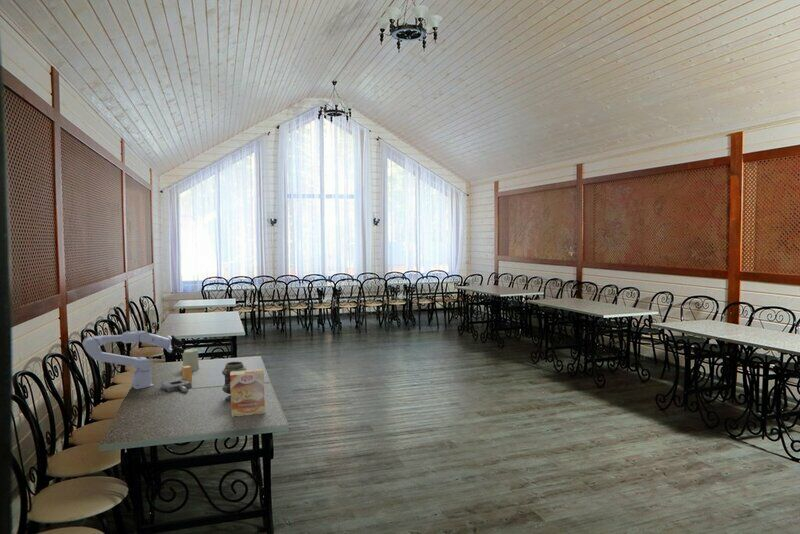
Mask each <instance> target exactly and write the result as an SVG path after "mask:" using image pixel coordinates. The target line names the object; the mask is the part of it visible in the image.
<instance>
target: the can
mask: <svg viewBox="0 0 800 534" xmlns="http://www.w3.org/2000/svg"><path fill="white" fill-rule="evenodd" d="M184 350H185V351H184V353H181V355H182V367H183V366H191V370H192V372H193V371H197V370H199V369H200V366H199V349H197V348H189V349H184Z"/></svg>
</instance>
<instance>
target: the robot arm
mask: <svg viewBox="0 0 800 534" xmlns="http://www.w3.org/2000/svg"><path fill="white" fill-rule="evenodd" d="M114 342H116V343H117V342H122V343H123V344H130V343H133V344H134V343H138V342H140V343H142V344H145V343H146V344H149V345H152V346H156V347H159V348H161V349H162V348H163V349H165V350H166V351H167V353H168V354H170V355H173V354H182V353H184V351H185V350H186V349H184V348H182V347H183V345H184V342H183V341H182V340H180V339H178V338H177V337H176V336H174V335H166V337H165V336H162V335H158V334H155V333H151V332H147V331H145V330H136V331H129V330H127V331H125V332H123V333H122V334H115V335H114V334H113V335H111V334H109V335H104V334H103V335H93V336H87V337H85V338H84V339H83V340H82V346H83V347H82V348H83V349H84V350H85V352H86V353H87V354H88V355H89V356H90V357H91V358H92V359H93V360H94V361H96V362H97V361H98V362H104V363H108V364H110V363H111V364H117V365H122V366H128V367H132V368H135V369H136V370H135V371H133V372H131V387H132V386H133V387H132V388H133V389H135V390H140V389H145V388H149V387H154V386H155V385H154V383H152V362H151V361H150V359H148V358H147V357H145V356H128V355H123V354H122V355H121V354H116V353H111V352H106V351H105V352H104V351H101V348H100V347H101V346H103V345H104V344H106V343H114Z"/></svg>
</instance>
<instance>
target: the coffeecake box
mask: <svg viewBox="0 0 800 534" xmlns="http://www.w3.org/2000/svg"><path fill="white" fill-rule="evenodd" d="M264 378H265V374H264V369H263V368H259V369H258V368H257V369H247V370H244V371H232V372H230V390H231V394H230V395H231V401H230V410H231V412H230V413H231V417H232V418H235V417H234V416H237V417H243V416H244V415H245V416H253V414H254V415H261V414H263V415H265V414H266V406H265V405H266V404H265V401H266V400H265V381H264V380H265V379H264Z"/></svg>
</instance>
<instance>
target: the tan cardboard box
mask: <svg viewBox="0 0 800 534" xmlns="http://www.w3.org/2000/svg"><path fill="white" fill-rule="evenodd" d="M192 372H193V371H192V370H191V366H183V365H182V366H181V376H182V377H181V379H183V378H184V379H186V380H187V381H189V382H192V381H193V375H192Z"/></svg>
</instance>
